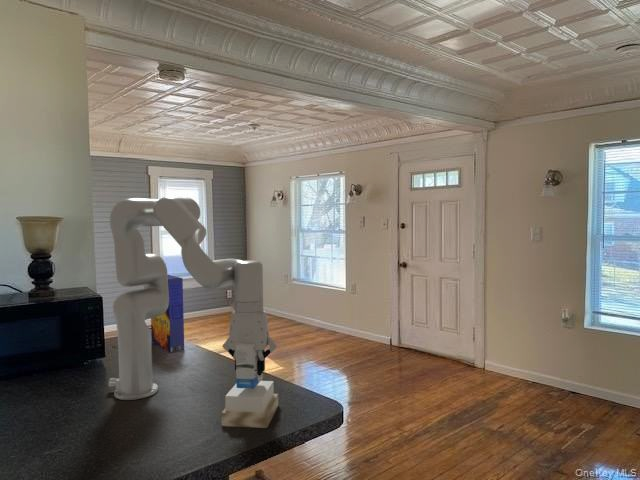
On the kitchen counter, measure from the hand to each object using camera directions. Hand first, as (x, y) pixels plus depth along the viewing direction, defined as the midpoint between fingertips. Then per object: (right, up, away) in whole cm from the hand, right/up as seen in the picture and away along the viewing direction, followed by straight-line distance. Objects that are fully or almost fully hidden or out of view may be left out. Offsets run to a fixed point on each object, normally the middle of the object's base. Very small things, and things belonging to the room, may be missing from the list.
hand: (250, 372), depth 124 cm
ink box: (0, -3, 0) cm, 3 cm away
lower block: (0, -12, +1) cm, 12 cm away
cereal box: (-46, -9, +71) cm, 85 cm away
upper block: (0, -8, +1) cm, 8 cm away
